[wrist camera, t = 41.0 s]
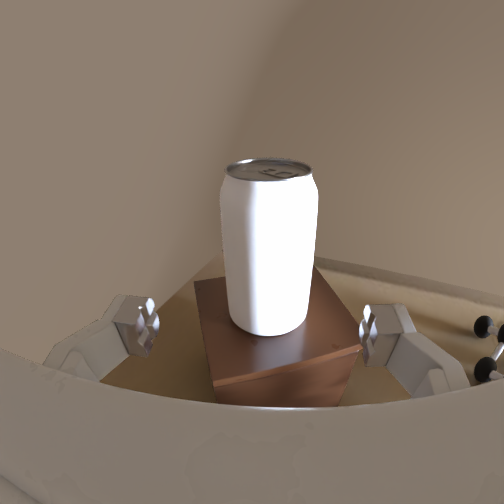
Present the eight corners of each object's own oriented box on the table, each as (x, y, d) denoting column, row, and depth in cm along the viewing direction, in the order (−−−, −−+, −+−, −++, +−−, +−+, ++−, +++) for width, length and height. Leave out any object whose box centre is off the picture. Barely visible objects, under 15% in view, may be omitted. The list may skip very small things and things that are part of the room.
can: (262, 279, 28) (261, 152, 22) (320, 306, 25) (337, 166, 18) (213, 314, 24) (196, 170, 18) (275, 352, 20) (280, 189, 14)
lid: (310, 268, 31) (311, 261, 31) (368, 347, 21) (371, 340, 21) (194, 287, 29) (193, 281, 28) (213, 387, 19) (211, 381, 18)
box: (296, 333, 36) (303, 269, 31) (336, 409, 26) (359, 350, 21) (206, 351, 34) (194, 288, 29) (226, 439, 24) (213, 388, 19)
